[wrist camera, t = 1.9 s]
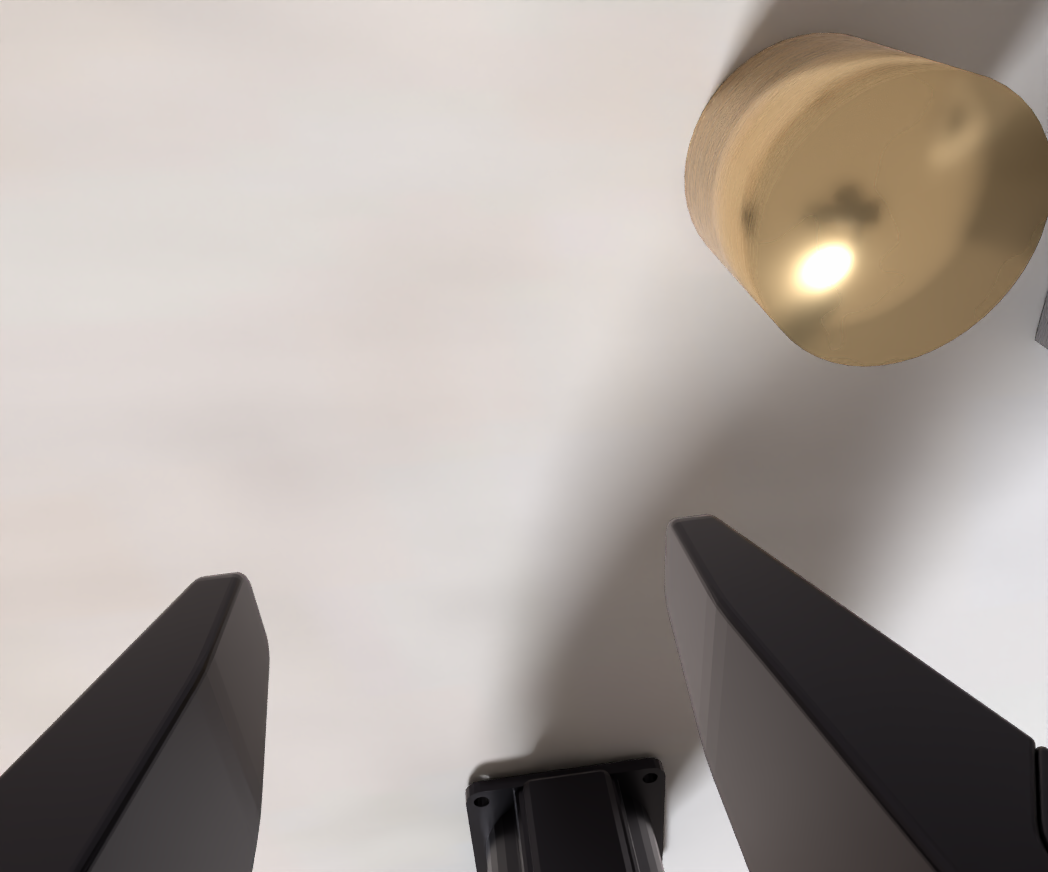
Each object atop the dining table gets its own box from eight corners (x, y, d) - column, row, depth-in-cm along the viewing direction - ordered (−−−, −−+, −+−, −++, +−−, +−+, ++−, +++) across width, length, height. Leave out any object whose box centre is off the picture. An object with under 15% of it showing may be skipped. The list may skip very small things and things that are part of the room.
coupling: (898, 264, 20) (1013, 349, 17) (681, 289, 20) (747, 381, 16) (939, 21, 18) (1088, 55, 14) (688, 44, 17) (770, 86, 13)
